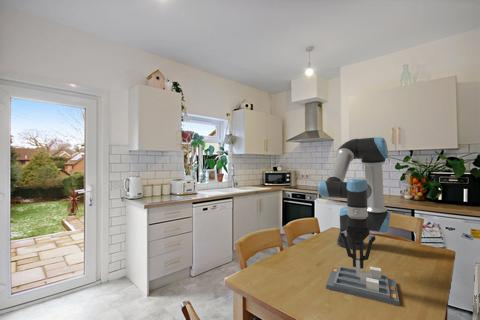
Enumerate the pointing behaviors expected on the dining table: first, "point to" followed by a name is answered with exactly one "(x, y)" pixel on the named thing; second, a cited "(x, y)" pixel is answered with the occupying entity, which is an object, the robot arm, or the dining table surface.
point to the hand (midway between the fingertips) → (358, 275)
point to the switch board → (362, 286)
